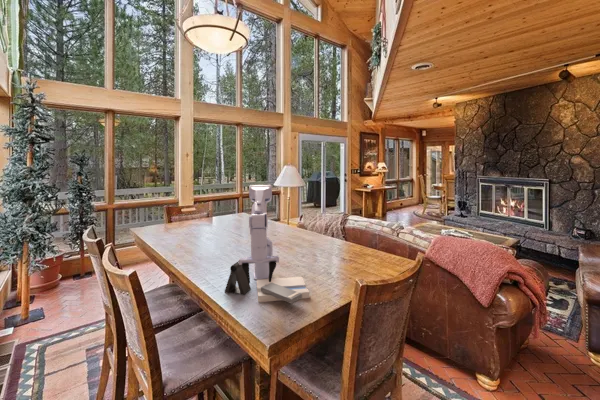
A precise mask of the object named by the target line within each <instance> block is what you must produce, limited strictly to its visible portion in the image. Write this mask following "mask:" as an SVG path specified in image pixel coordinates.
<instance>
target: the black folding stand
mask: <svg viewBox="0 0 600 400" xmlns="http://www.w3.org/2000/svg"><path fill="white" fill-rule="evenodd" d="M250 284H251V283H250ZM250 284H248V280H247V277H246V274H245V272H244V270H243V268H242V265H239V260H238V261H237V262H235V263H234V264H232V265H231V266H230V273H229V277H228V280H227V283H226V285H225V288H224V289H225V290H224V293H226V292H227V293H228V294H235V295H242V296H245V294H247V292H249V291H250V290H251V289H252V288H251V285H250Z"/></svg>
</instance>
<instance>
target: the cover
mask: <svg viewBox="0 0 600 400" xmlns="http://www.w3.org/2000/svg"><path fill="white" fill-rule="evenodd" d="M261 291H262V292H264V293H267V294H269V295H272V296H274V297H277V298H279V299H282V300H281V301H284V302H287V303H290V304H293V303H294V302H295V303H296V301H298V300H301V299H300V298H302V293H299V292H296V291H294V290H291V289H288V288H285V287H283V286H280V285H277V284H274V283H269V284H265V286H263V287H261Z"/></svg>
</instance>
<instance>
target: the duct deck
mask: <svg viewBox="0 0 600 400" xmlns="http://www.w3.org/2000/svg"><path fill="white" fill-rule="evenodd" d="M269 283H274V284H277V285H280V286H283V287H285V288H301V287H305V289H293V290H294V291H296V292H299V293H302V298H300V299H299V300H301V299H310V290H309V289H308V288H307V287H306V286H307V285H306V283H305V280H304V279H303V276H291V277H290V276H288V277H279V278H277V277H276V278H271V282H269V279H256V288H257V289H256V291H257V302H258V303H265V302H266V303H267V302H277V301H283V300H282V299H279V298H277V297H274V296H272V295H269V294H267V293H264V292H262V291H261V287H263V286H265V284H269Z"/></svg>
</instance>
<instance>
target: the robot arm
mask: <svg viewBox="0 0 600 400" xmlns="http://www.w3.org/2000/svg"><path fill="white" fill-rule="evenodd" d="M272 188H273V187H272V184H250V185H249V188H248V198H249V200H250V201H251V202H252V203H253V204H252V205H251V213H250V215H249V216H248V227H249V234H250V254H251V255H250V256H245V257H239V258H238V261H239V262H238V263H239V265H242V268H243V270H244V272H245V274H246V277H247V280H248V284H251V277H250V264H254V270H253V280H256V281H257V280H261V279H269V282H271V279H273V278H272V277H273V274H274V271H275V269H276V267H277V263H280V257H279V255H273V254H274V253H273V252H274V251H273V241H272V239H270V238H269V237H267V236H268V235H267V233H268V232H267V228H268V225H269V224H268V223H269V222H268V219H269V217H268V213H267V211H268V209H267V208H268V207H267V205H268V203H270V202H272V199H273V198H272V197H273V189H272Z"/></svg>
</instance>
